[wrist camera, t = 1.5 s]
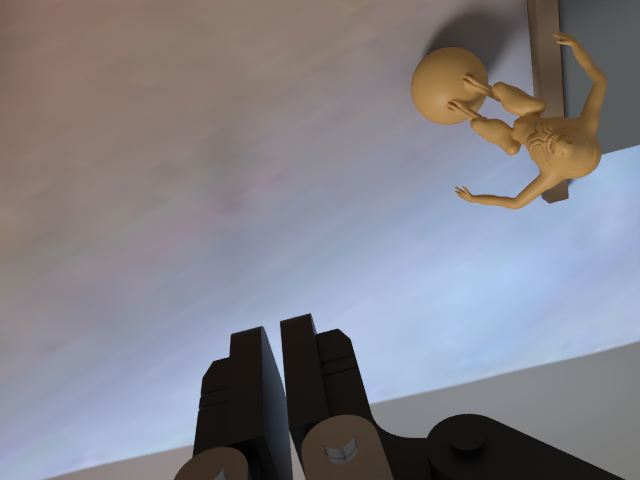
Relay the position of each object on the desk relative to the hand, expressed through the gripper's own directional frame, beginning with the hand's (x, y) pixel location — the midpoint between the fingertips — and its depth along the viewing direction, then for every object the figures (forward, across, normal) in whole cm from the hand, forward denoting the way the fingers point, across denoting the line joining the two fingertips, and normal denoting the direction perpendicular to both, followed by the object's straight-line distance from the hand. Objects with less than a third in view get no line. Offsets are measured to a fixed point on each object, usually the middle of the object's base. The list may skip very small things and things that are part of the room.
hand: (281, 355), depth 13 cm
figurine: (+21, -11, 0) cm, 24 cm away
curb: (+21, -16, 0) cm, 27 cm away
